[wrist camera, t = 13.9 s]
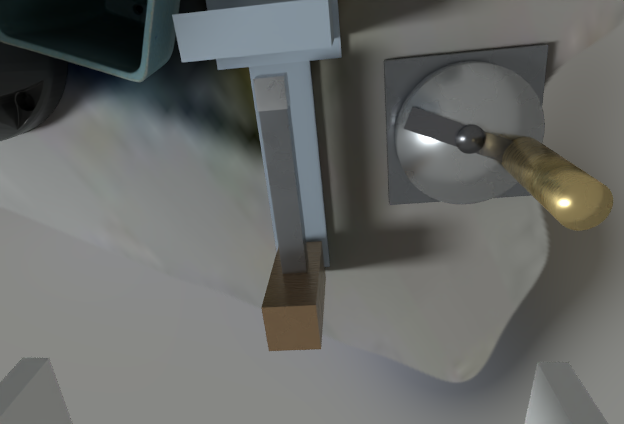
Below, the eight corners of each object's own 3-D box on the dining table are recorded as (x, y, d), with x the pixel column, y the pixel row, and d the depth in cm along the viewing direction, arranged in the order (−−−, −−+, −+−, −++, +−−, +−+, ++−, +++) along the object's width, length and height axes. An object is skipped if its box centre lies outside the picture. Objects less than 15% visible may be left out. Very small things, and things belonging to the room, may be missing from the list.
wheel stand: (383, 59, 32) (385, 61, 31) (543, 44, 31) (550, 45, 30) (388, 201, 37) (390, 206, 36) (529, 191, 36) (534, 196, 35)
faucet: (374, 172, 35) (387, 235, 25) (428, 40, 31) (467, 53, 21) (499, 214, 35) (558, 290, 26) (567, 90, 31) (668, 124, 22)
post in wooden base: (325, 278, 39) (321, 349, 31) (284, 280, 39) (269, 351, 31) (303, 65, 32) (290, 84, 24) (254, 70, 32) (223, 90, 24)
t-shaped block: (356, 261, 39) (359, 327, 31) (254, 267, 40) (232, 332, 32) (336, -21, 31) (333, -33, 22) (206, -6, 31) (158, -12, 23)
